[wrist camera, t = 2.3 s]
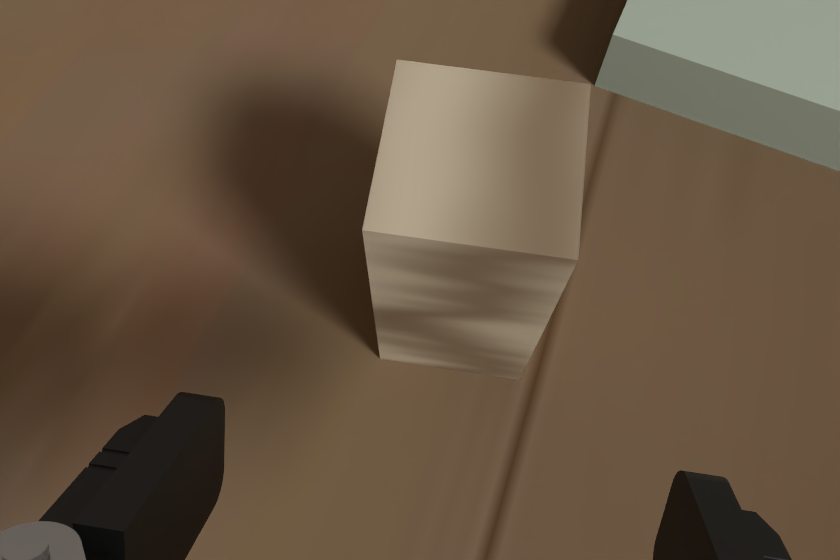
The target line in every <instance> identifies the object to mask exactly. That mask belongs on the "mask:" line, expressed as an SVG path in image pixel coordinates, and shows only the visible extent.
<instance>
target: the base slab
mask: <svg viewBox="0 0 840 560" xmlns="http://www.w3.org/2000/svg"><path fill="white" fill-rule="evenodd" d="M595 86H597V87H599V88H602V89H605V90H608V91H611V92H614V93H617V94H620V95H622V96H625V97H628V98H631V99H634V100H637V101H640V102H642V103H645V104H648V105H651V106H654V107H657V108H660V109H663V110H665V111H668V112H671V113H674V114H677V115H680V116H683V117H685V118H688V119H691V120H694V121H697V122H700V123H703V124H706V125H708V126H711V127H714V128H717V129H720V130H723V131H726V132H728V133H731V134H734V135H737V136H740V137H743V138H746V139H749V140H751V141H754V142H757V143H760V144H763V145H766V146H769V147H771V148H774V149H777V150H780V151H783V152H786V153H789V154H792V155H794V156H797V157H800V158H803V159H806V160H809V161H812V162H814V163H817V164H820V165H823V166H826V167H829V168H832V169H835V170H837V171H840V0H627V2H626V5H625V7H624V10H623V12H622V14H621V17H620V19H619V21H618V24H617V26H616V28H615V31H614V33H613V36H612V38H611V41H610V44H609V47H608V49H607V52H606V55H605V58H604V61H603V63H602V66H601V69H600V72H599V75H598V77H597V80H596V83H595Z"/></svg>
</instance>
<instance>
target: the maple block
mask: <svg viewBox="0 0 840 560" xmlns="http://www.w3.org/2000/svg"><path fill="white" fill-rule="evenodd" d="M590 87H591V84H585V83H577V82H570V81H562V80H554V79H546V78H538V77H530V76H522V75H514V74H506V73H498V72H490V71H482V70H475V69H467V68H459V67H451V66H443V65H435V64H427V63H419V62H411V61H403V60H397V62H396V67H395V72H394V77H393V82H392V87H391V92H390V96H389V101H388V106H387V111H386V116H385V121H384V126H383V131H382V136H381V140H380V145H379V150H378V155H377V160H376V165H375V170H374V175H373V179H372V184H371V189H370V194H369V199H368V204H367V209H366V214H365V219H364V223H363V228H362V233H363V240H364V247H365V254H366V261H367V269H368V276H369V283H370V290H371V297H372V304H373V311H374V319H375V326H376V333H377V340H378V347H379V354H380V359H385V360H392V361H398V362H405V363H412V364H419V365H426V366H432V367H439V368H446V369H453V370H459V371H466V372H473V373H480V374H486V375H493V376H500V377H507V378H513V379H520V378H521V376H522V374H523V371H524V369H525V367H526V365H527V363H528V361H529V359H530V357H531V355H532V353H533V351H534V349H535V347H536V345H537V343H538V341H539V339H540V337H541V335H542V333H543V331H544V329H545V327H546V325H547V323H548V321H549V319H550V316H551V314H552V312H553V310H554V308H555V306H556V304H557V302H558V300H559V298H560V296H561V294H562V292H563V290H564V288H565V286H566V284H567V282H568V280H569V278H570V276H571V274H572V272H573V270H574V268H575V266H576V263H577V261H578V255H579V241H580V227H581V213H582V199H583V185H584V171H585V157H586V143H587V129H588V115H589V101H590Z"/></svg>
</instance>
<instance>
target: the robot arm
mask: <svg viewBox="0 0 840 560" xmlns="http://www.w3.org/2000/svg"><path fill="white" fill-rule="evenodd" d="M224 432H225V406H224V401H223V399H222V398H217V397H211V396H204V395H198V394H191V393H185V392H180V393H178V394H177V395H176V396H175V397H174V398H173V400H172V401H171V402H170V403H169V405H168V406H167V407H166V408H165V410H164V411H163V412H162V413H161V415H160V416H159V417H155V416H149V415H144V416H142V417H140V418H138V419H137V420H135V421H133V422H131V423H129V424H128V425H126V426H124V427H122V428H121V429H119V430H118V431H117V432H116V433H115V434H114V436H113V437H112V438H111V439H110V440H109V441H108V442H107V444H106V445H105V446H104V447H103V449H102V452H99V453H98V454H97V455H96V456H95V457H94V458H93V460H92V461H91V462H90V463H89V467H88V468H85V469H84V470H83V471H82V472H81V473H80V474H79V475H78V477H77V478H76V479H75V480H74V481H73V482H72V483H71V485H70V486H69V487H68V488H67V489H66V490H65V491H64V493H63V494H62V495H61V496H60V497H59V498H58V499H57V501H56V502H55V503H54V504H53V505H52V506H51V507H50V508H49V510H48V511H47V512H46V513H45V514H44V515H43V516H42V518H41V519H40V520H39V521H37V522H29V523H24V524H19V525H16V526H13V527H10V528H7V529H5V530H2V531H1V532H0V560H185V558H186V557H187V555H188V553H189V551H190V549H191V548H192V546H193V544H194V542H195V540H196V539H197V537H198V535H199V533H200V532H201V530H202V528H203V526H204V524H205V523H206V521H207V519H208V517H209V515H210V514H211V512H212V510H213V508H214V506H215V504H216V502H217V499H218V497H219V493H220V490H221V486H222V481H223V474H224ZM653 560H792V559H791V558H790V556H789V554H788V552H787V550H786V548H785V546H784V544H783V542H782V540H781V538H780V536H779V535H778V534H777V533H776V532H775V531H774V530H773V529H772V528H771V527H770V526H769V525H768V524H767V523H766V522H765V521H764V520H763V519H762V518H761V517H760V516H759V515H758V514H757V513H756V512H752V511H745V510H741V507H740V505H739V503H738V501H737V499H736V497H735V495H734V493H733V490H732V488H731V486H730V484H729V482H728V480H727V479H726V478H724V477H720V476H713V475H707V474H700V473H694V472H687V471H678V472H677V474H676V475H675V477H674V480H673V483H672V486H671V489H670V493H669V496H668V499H667V503H666V506H665V510H664V513H663V516H662V520H661V523H660V527H659V530H658V533H657V537H656V541H655V545H654V552H653Z"/></svg>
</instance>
